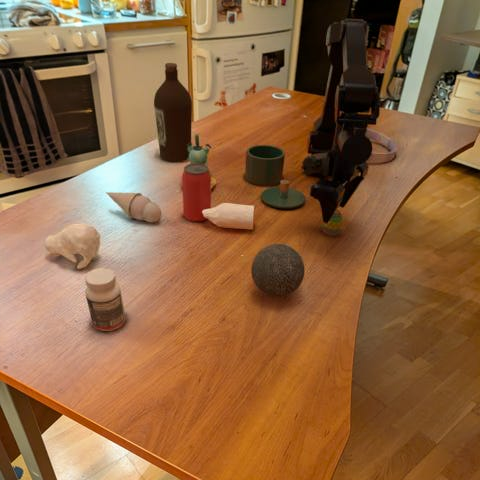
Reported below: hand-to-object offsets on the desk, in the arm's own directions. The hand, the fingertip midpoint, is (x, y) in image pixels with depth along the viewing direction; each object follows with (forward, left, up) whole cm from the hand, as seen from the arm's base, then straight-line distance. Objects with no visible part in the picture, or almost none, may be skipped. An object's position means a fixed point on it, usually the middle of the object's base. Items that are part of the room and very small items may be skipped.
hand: (333, 214), depth 105 cm
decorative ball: (+28, +1, -5) cm, 28 cm away
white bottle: (+12, -21, -5) cm, 25 cm away
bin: (-17, -28, -5) cm, 33 cm away
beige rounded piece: (+42, -39, -5) cm, 58 cm away
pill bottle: (+53, -20, -5) cm, 56 cm away
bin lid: (-8, -17, -4) cm, 19 cm away
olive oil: (-14, -57, -5) cm, 59 cm away
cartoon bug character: (-1, -39, -5) cm, 40 cm away
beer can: (+12, -30, -5) cm, 33 cm away
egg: (0, 0, -5) cm, 5 cm away
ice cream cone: (+21, -42, -5) cm, 47 cm away
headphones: (-54, -12, -5) cm, 56 cm away
